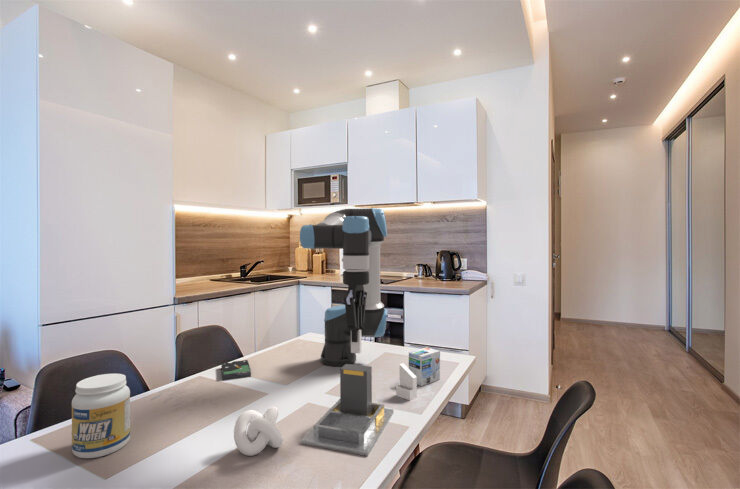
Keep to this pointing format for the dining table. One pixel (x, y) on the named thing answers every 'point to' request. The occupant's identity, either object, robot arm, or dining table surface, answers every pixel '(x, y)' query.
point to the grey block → (356, 389)
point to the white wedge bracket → (407, 384)
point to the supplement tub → (100, 415)
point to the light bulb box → (425, 365)
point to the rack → (349, 430)
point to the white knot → (257, 431)
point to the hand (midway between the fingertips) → (356, 352)
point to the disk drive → (235, 370)
